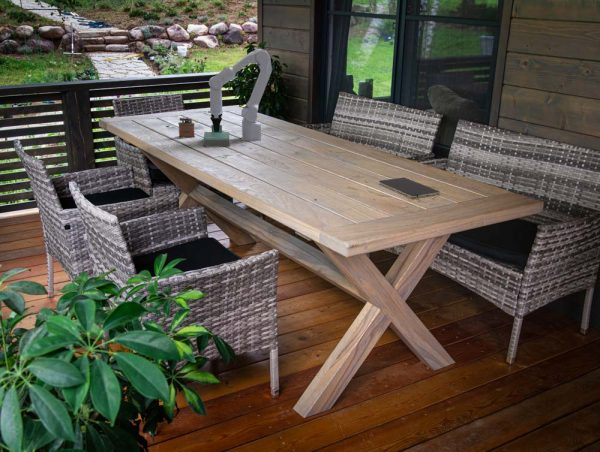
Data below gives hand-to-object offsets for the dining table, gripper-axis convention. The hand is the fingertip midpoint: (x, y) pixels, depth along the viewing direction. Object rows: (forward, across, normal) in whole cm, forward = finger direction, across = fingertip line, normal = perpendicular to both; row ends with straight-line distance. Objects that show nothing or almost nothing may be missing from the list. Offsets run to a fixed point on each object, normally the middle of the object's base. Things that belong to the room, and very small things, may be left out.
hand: (216, 130), depth 313 cm
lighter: (+6, -8, -15) cm, 18 cm away
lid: (+2, +6, 0) cm, 7 cm away
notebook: (+6, +84, +73) cm, 112 cm away
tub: (+5, +6, 0) cm, 8 cm away
